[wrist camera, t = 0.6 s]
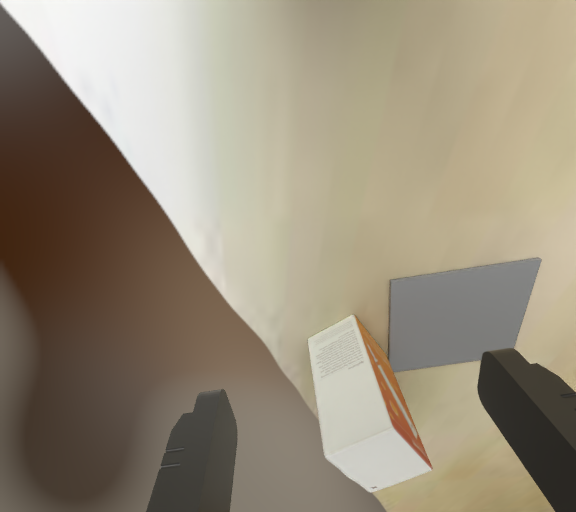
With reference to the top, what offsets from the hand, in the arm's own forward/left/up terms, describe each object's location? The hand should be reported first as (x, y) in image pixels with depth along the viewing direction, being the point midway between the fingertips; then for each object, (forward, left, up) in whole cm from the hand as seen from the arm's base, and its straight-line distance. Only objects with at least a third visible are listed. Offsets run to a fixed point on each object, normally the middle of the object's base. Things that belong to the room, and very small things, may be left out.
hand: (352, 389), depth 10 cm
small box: (+20, +3, -20) cm, 28 cm away
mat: (+18, +15, -20) cm, 31 cm away
